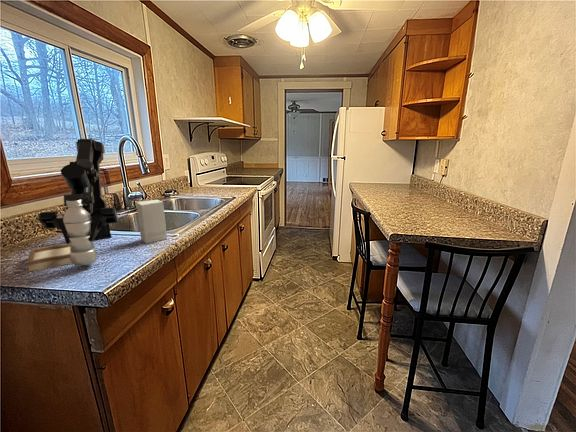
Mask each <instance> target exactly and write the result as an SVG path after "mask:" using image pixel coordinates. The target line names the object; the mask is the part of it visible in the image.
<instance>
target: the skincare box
mask: <svg viewBox="0 0 576 432" xmlns="http://www.w3.org/2000/svg"><path fill="white" fill-rule="evenodd" d="M135 204H136V212H137V219H138V227H139V234H140V240H141V241H142V242H144V244H150V243H151V244H152V243H155V242H160V241H164V240H167V239H168V234H167V225H166V218H165V217H166V215H165V209H164V208H165V207H164V201H162V200H159V199H151V200H143V201H136V203H135Z"/></svg>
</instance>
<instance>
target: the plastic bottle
mask: <svg viewBox="0 0 576 432" xmlns="http://www.w3.org/2000/svg"><path fill="white" fill-rule="evenodd" d="M66 204H67V205H66V206H65V208H66V207H68V209H67V211H66V210H65V212H64V213H63V214H64V215H63V222H64V225H65V227H66V230H67V233H68V237H69V241H70V242H69V243H70V260H71V262H72V263H71V264H72V265H73V266H76V267H85V266H89V265H91V264H95V262H96V261H97V259H98V251H97V250H96V247H95V244H94V241H91V216H90V214H89V213H88V212H87V211H86V210H85V209H84V208H83V207H82V206H83V204H82V199H81V200H77V201H67V200H66Z"/></svg>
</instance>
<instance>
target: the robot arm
mask: <svg viewBox="0 0 576 432" xmlns="http://www.w3.org/2000/svg"><path fill="white" fill-rule="evenodd" d="M75 145H76V151H77V153H76V159H75V161H69V164H66V165H64V166H63V167H62V168H61V169H60V175H61V176H62V178H63V180H64V181H65V184H66V186H67V188H69V189H70V193H69V194H64V195H63V206H64V207H65V208H66V209H65V212H66V211H67V209H68V207H66V205H67V204H66V200H67V201H77V200H81V199H82V204H83V206H82V207H83V208H84V209H85V210H86V211H87V212H88V213H89V214H90V216H91V241H93V242H94V241H98V240H102V239H111V238H112V237H113V236H112V233H111V227H110V224H117V223H118V222H119V218H118V213H117V210H116V208H115V207H113V206H110V207H108V204H107V202H105V200H103V196H102V195H103V194H102V192H103V191H102V182H101V170H100V169H101V167H100V164H101V163H102V161H103V160H104V154H105V151H106V150H105V145H104V144H103V143H102V142H100V141H96V140H95V139H93V138H79V139H77V141H76V142H75ZM64 214H65V213H58V211H57V210H53V211H52V210H51V211H50V210H49V211H41V212H40V213H39V214H38V217H37V221H39V223H40V224H41V225H42V227H43V228H44V229H47V230H49V229H50V230H51V229H56V230H57V231H61V233H62V235H63V238H64V241H65V244H69V243H70V241H69V237H68V233H67V230H66V227H65V225H64V222H63V215H64Z"/></svg>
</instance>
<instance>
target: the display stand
mask: <svg viewBox="0 0 576 432" xmlns="http://www.w3.org/2000/svg"><path fill="white" fill-rule="evenodd" d="M26 264H27V268H28V271H29V272H34V271H39V270H45V269H50V268H54V267H61V266H65V265H70V264H72V262H71V260H70V242H69V244H67V243H61V244H55V245H50V246H43V247H38V248H37V247H36V248H31V249H30V251H29V254H28V257H27V262H26Z"/></svg>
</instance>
